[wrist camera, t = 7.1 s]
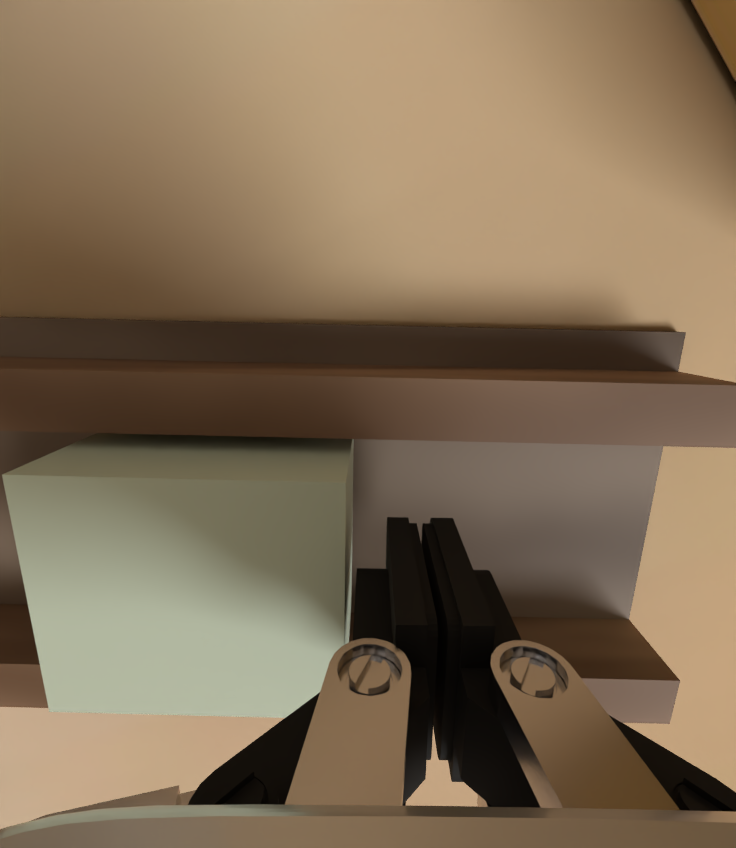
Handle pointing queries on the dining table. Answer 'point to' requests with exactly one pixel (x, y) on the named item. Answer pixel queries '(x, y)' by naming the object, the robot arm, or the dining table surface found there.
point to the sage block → (186, 571)
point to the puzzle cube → (720, 27)
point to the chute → (403, 452)
